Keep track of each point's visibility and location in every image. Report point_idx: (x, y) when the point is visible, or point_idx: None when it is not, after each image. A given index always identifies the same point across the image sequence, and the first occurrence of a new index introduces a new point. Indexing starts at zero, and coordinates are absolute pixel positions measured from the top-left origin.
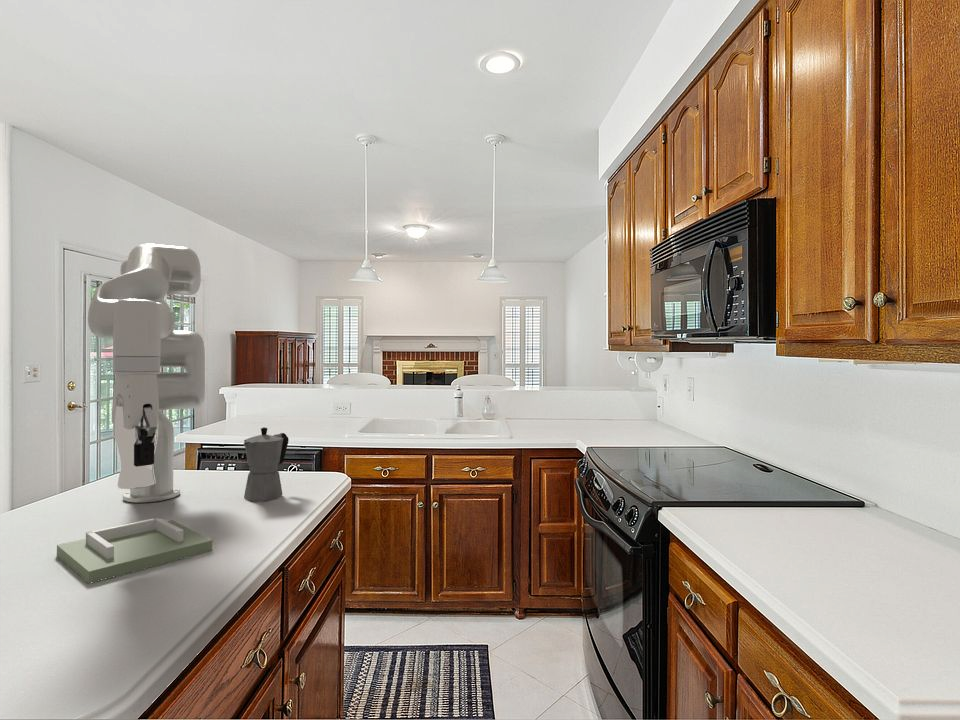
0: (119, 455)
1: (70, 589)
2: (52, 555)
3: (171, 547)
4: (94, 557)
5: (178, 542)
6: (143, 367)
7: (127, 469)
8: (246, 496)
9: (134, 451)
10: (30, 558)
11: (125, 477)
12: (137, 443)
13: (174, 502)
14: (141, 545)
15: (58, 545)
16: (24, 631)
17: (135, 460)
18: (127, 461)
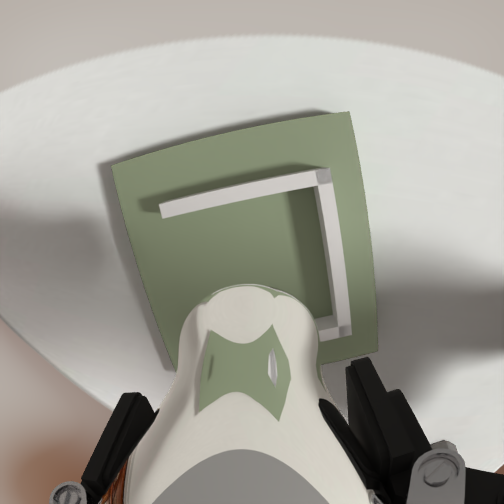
0: (216, 382)
1: (112, 136)
2: (350, 108)
3: (174, 321)
4: (194, 176)
5: None
6: None
7: (185, 359)
8: (439, 446)
9: (101, 446)
10: (355, 72)
11: (194, 330)
12: (79, 490)
13: None
14: (224, 274)
15: (342, 113)
16: (12, 101)
17: (115, 412)
18: (173, 387)
